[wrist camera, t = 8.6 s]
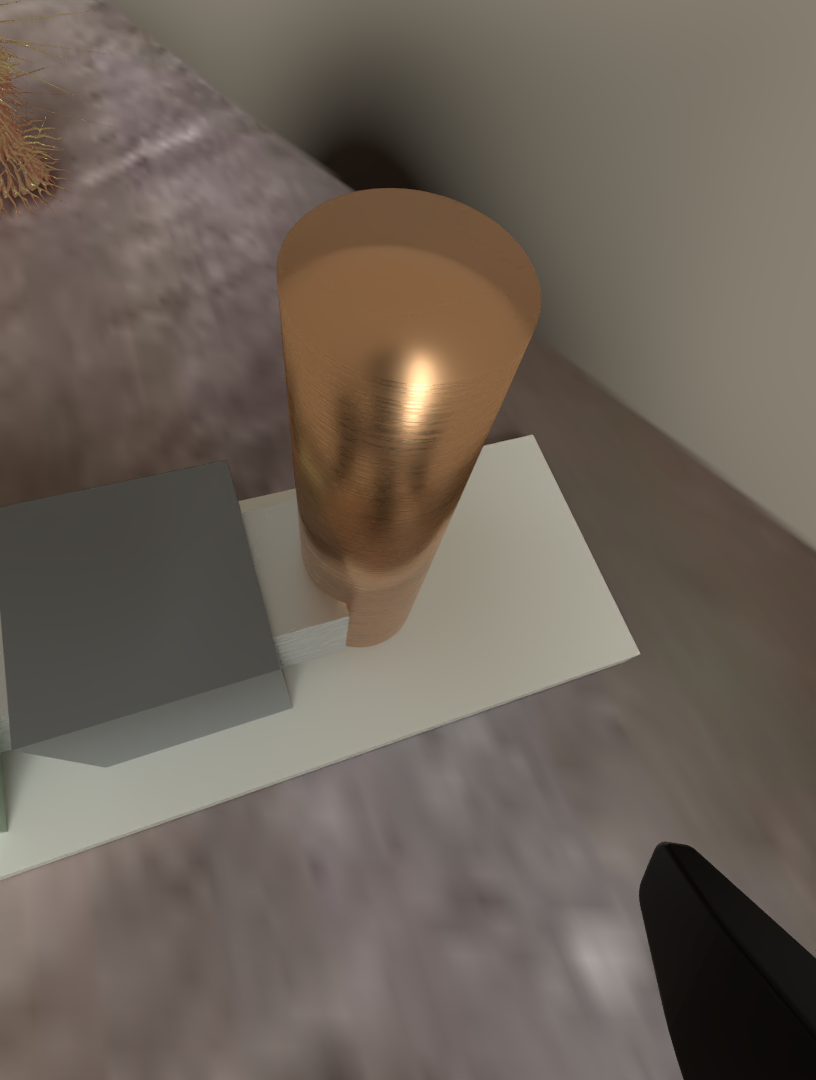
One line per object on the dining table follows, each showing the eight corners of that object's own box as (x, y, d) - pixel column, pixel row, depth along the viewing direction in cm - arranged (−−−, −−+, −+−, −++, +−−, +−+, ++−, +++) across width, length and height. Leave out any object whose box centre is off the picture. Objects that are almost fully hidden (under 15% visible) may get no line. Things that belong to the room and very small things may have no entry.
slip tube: (392, 535, 20) (483, 177, 8) (426, 629, 18) (584, 356, 7) (-156, 676, 16) (-1312, 359, 5) (-158, 807, 15) (-1732, 804, 3)
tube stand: (523, 451, 24) (589, 332, 18) (623, 662, 21) (745, 603, 15) (-235, 628, 17) (-522, 535, 12) (-260, 970, 14) (-676, 1088, 8)
